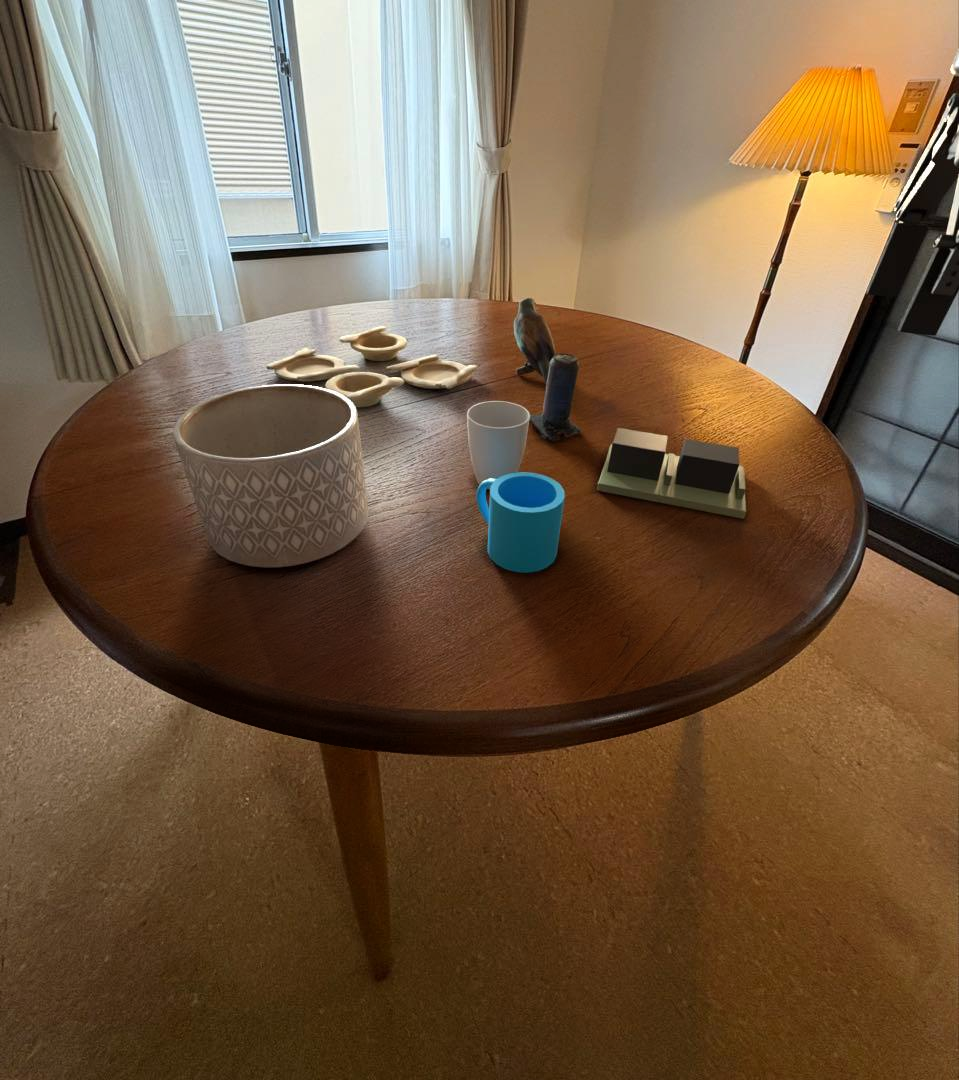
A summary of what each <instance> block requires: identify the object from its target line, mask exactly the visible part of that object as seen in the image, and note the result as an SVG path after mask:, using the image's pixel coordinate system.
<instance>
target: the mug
mask: <svg viewBox="0 0 959 1080" xmlns="http://www.w3.org/2000/svg"><path fill="white" fill-rule="evenodd" d="M489 486H491V487H490V489H489V505H488V502H487V496H486V493H487V490H488V489H487V488H488V487H489ZM565 494H566V493H565V489H564V488H563V487H562V485H561V484H560V482H558V481H556V480H555V479H554V478H552V477H549V476H546V475H545V474H541V473H537V472H529V471H528V472H527V471H520V472H519V471H518V473H510V474H507V475H504V476H501V477H499V478H498V479H494V478H490V479H488V480H485V481H483V482H482V483H481V484H480V485H478V487H477V489H476V495H475V497H476V504H477V507H478V510H479V512H480V514H481V516H482V518H483V519H484V521H485V522H486V523H487V524H488V529H487V554H488V555H489V558H490V560H492V561H493V563H495V564H496V565H497V566H499V567H501V568H502V569H505V570H507V571H511V572H515V573H526V574H528V573H534V572H535V573H536V572H539V571H542V570H544V569H547V568H549V566H551V565H552V564H553V563H554V562H555V561H556V557H557V555H558V548H559V540H560V535H561V534H560V533H561V526H562V520H563V513H564V505H565V497H566V495H565Z"/></svg>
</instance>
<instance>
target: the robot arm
mask: <svg viewBox="0 0 959 1080" xmlns="http://www.w3.org/2000/svg"><path fill="white" fill-rule="evenodd" d="M950 72H951V74H952V75H953V76H954V77H959V48H957V51H956V54H955V55H954V59H953V61H952V63H951V67H950ZM955 182H956V186H955V192H954V196H953V200H952V206H951V210H950V214H949V219H948V224H947V228H946V233H945V234H944V233H941V234H940V236H938V238H937V239H935V241H934V242H933V243H932V248H935V249H934V251H933V253H932V255H931V257H930V258H929V259H930V260H929V261H928V264H927V266H926V268H925V270H924V272H923V274H922V276H921V278H920V280H919V282H918V285H917V287H916V289H915V291H914V294H913V295H912V298H911V299H910V302H909V304H908V305H907V308H906V310H905V312H904V314H903V316H902V318H901V321H900V323H899V325H898V327H897V331H898V332H899V333H906V334H915V335H923V336H924V335H925V336H933V337H936V336H937V334H938V332H939V330H940V328H941V326H942V324H943V322H944V320H945V318H946V316H947V314H948V312H949V310H950V309H951V306H952V305H953V303H954V302H955V301H954V300H955V299H956V297H957V295H958V293H959V93H957V92H956V93H953V94H952V95H951V97H950V98H949V99H948V101H947V104H946V108H945V110H944V112H943V113H942V116H941V119H940V121H939V123H938V125H937V127H936V129H935V131H934V132H933V135H932V137H931V138H930V140H929V142H928V144H927V145H926V147H925V149H924V150H923V153H922V155H921V156H920V157H919V160H918V162H917V164H916V165H915V167H914V169H913V171H912V173H911V175H910V177H909V178H908V180H907V182H906V184H905V185H904V187H903V189H902V191H901V193H900V195H899V197H898V199H897V200H896V202H895V204H894V212H896V214H895V221H896V222H895V223H894V225H893V227H892V229H891V231H890V234H889V237H888V238H887V241H886V244H885V246H884V249H883V251H882V253H881V256H880V258H879V261H878V263H877V264H876V267H875V270H874V272H873V274H872V277H871V280H870V281H869V285H868V287H867V289H866V292H865V294H866V295H869V296H879V297H880V296H881V297H890V298H897V297H898V295H899V292H900V290H901V288H902V286H903V284H904V281H905V279H906V277H907V276H908V273H909V270H910V269H911V266H912V264H913V262H914V260H915V258H916V256H917V253H918V251H919V249H920V247H921V244H922V242H923V240H924V238H925V235H926V234H927V231H928V229H929V227H930V225H928V224H931V225H932V224H934V223H935V222H936V216H937V214H936V213H937V211H936V209H937V207H938V206H939V204H940V203H941V201H943V199H944V198H945V197H946V195H947V193H948V192H949V191H950V189H951V188H952V187H953V186H954V184H955Z"/></svg>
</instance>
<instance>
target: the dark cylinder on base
mask: <svg viewBox="0 0 959 1080" xmlns="http://www.w3.org/2000/svg"><path fill="white" fill-rule="evenodd" d="M579 369H580V364H579V361H578V356H576V355H573V354H571V353H563V352H562V353H556V354H555V355H554V357H553V358H552V359H551V361H550V365H549V371H548V378H547V385H546V384H545V385H546V386H545V392H544V400H543V406H542V412H541V413H538V414H537V413H536V414H530V419H529V424H532V425H533V426H535V428H536V429H537V431H538V432H539V434H541V435H540V437H541V439H543V440H546V439H548V438H549V440H550V441H552V443H553V442H556V441H558V440H561V438H562V436H560V434H559V433H561V434H564V436H565V437H572V436H574V435H575V434H576V435H577V434H580V433H581V429H580V428H579V425H576V424H575V422H573V421H572V420H571V419H570V415H571V411H572V407H573V402H574V397H575V391H576V386H577V378H578V373H579Z"/></svg>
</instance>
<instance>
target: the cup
mask: <svg viewBox="0 0 959 1080" xmlns="http://www.w3.org/2000/svg"><path fill="white" fill-rule="evenodd" d="M530 415H531V414H530V412H529V410H528V409H527V408H525V407H524V406H522V405H520V404H518V403H514V402H510V401H503V400H489V401H483V402H479V403H476V404H474V405H472V406H470V407H469V408H468V410H467V411H466V420H467V421H466V422H467V439H468V441H467V442H468V447H469V454H470V459H471V465H472V469H473V472H474V475H475V478H476V481H477V484H478V486H480V484H481V483H482V482H483V481H485V480H488V479H490V478H494V479H498V478H499V477H501V476H504V475H507V474H510V473H518V472H519V471H520V468H521V464H522V461H523V457H524V454H525V449H526V446H527V438H528V432H529V425H530V423H529V419H530ZM490 487H491V486H489V487H488V488H487V489H486V490H490Z"/></svg>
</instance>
